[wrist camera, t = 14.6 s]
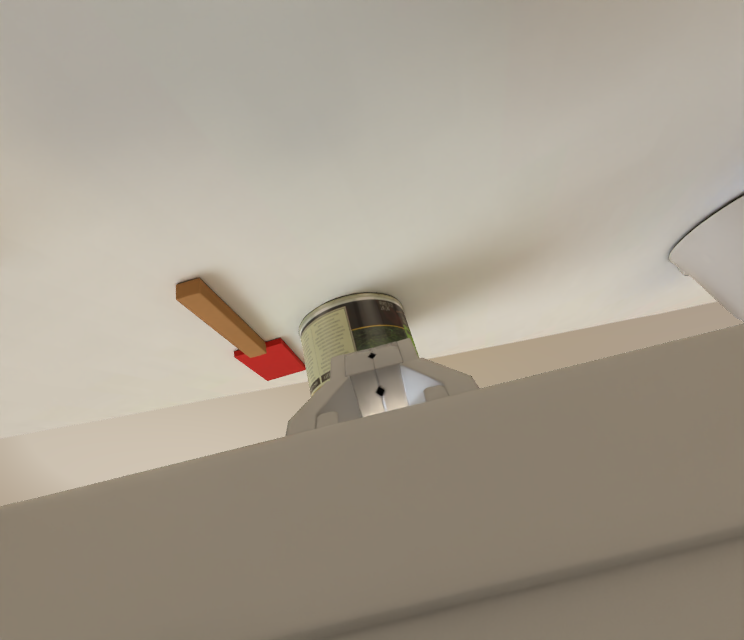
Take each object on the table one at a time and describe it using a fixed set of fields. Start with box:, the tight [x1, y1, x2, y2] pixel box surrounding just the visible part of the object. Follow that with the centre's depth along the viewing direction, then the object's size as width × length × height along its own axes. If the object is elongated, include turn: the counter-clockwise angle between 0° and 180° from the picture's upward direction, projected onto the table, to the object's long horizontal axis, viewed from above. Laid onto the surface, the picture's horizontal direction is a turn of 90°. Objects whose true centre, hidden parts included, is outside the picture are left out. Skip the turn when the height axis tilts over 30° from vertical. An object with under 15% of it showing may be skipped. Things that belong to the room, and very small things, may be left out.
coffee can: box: [299, 293, 419, 397], centre depth 30 cm, size 10×10×14 cm
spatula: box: [176, 278, 306, 381], centre depth 30 cm, size 4×19×1 cm, turn 7°
